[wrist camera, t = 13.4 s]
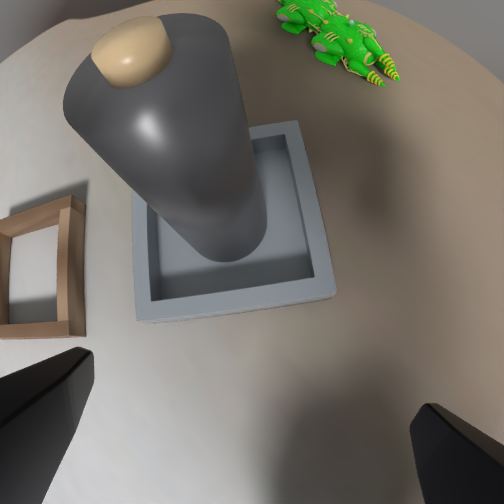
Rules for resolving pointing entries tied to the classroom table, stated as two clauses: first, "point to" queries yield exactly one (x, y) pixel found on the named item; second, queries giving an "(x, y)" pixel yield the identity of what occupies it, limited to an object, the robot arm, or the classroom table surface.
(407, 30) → the classroom table surface
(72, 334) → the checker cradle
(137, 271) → the tray
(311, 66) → the classroom table surface
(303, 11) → the crocodile figurine
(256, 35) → the classroom table surface
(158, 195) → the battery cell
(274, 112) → the classroom table surface
